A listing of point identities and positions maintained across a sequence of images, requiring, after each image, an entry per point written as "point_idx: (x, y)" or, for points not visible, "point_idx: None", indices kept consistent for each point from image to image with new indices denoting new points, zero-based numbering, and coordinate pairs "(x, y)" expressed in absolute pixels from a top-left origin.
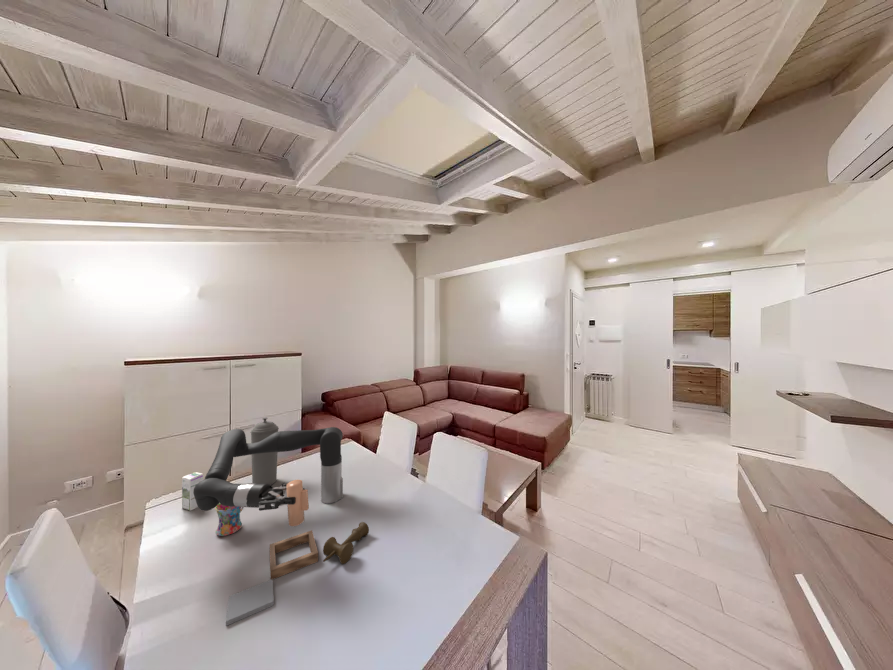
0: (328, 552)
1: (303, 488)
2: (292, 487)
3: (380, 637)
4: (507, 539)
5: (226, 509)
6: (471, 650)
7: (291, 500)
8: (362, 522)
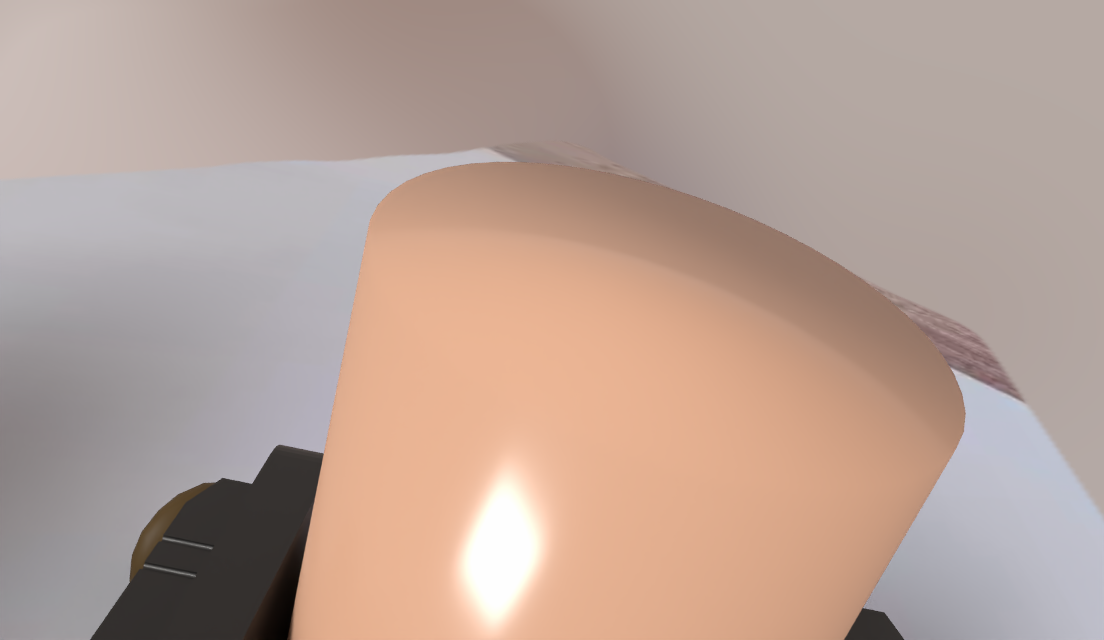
0: None
1: (290, 452)
2: (904, 330)
3: (1007, 508)
4: (465, 154)
5: None
6: (940, 320)
7: (891, 628)
8: (180, 504)
